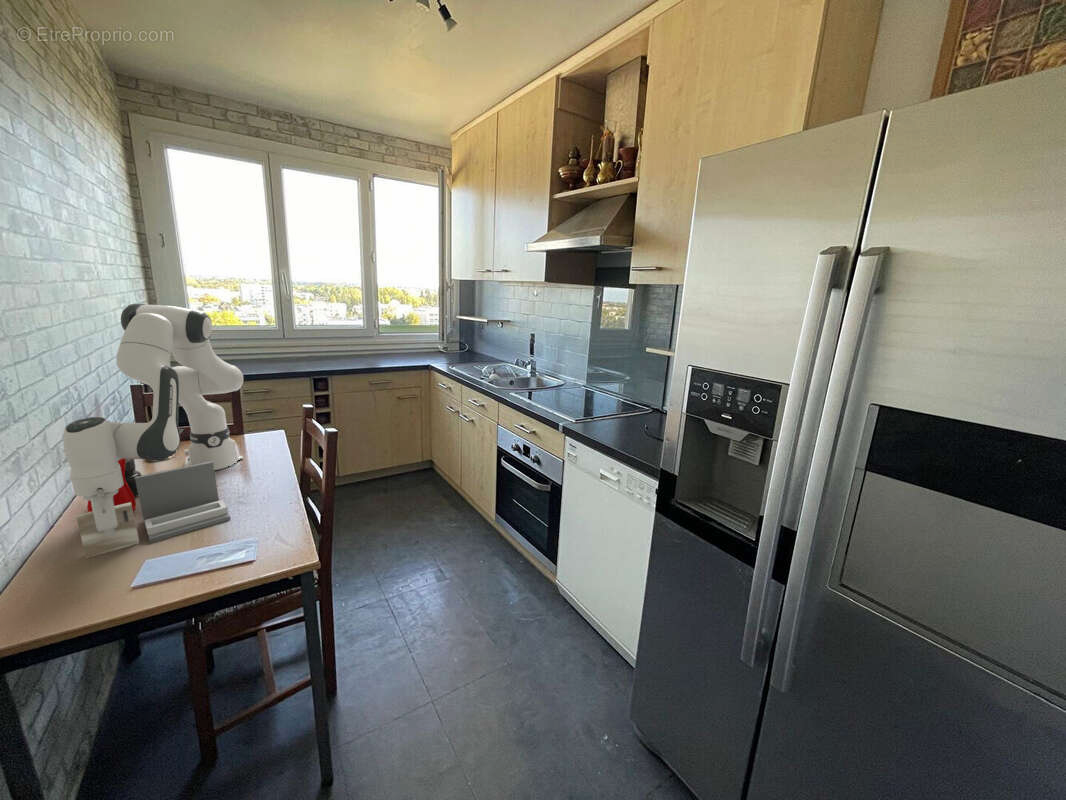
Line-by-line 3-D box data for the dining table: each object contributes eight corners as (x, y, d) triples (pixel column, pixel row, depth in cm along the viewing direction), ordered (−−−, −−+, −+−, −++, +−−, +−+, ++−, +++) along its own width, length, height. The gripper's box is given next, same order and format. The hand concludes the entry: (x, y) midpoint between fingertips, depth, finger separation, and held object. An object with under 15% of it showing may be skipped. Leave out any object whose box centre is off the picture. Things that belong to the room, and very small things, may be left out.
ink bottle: (107, 494, 141) (100, 460, 139) (143, 486, 147) (137, 453, 145) (108, 504, 135) (100, 468, 132) (145, 496, 141) (139, 461, 138)
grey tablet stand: (143, 521, 125) (134, 476, 122) (218, 502, 138) (211, 461, 135) (150, 542, 115) (140, 494, 112) (230, 519, 128) (223, 475, 124)
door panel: (85, 554, 109) (76, 514, 107) (138, 539, 116) (130, 502, 114) (86, 558, 108) (76, 518, 105) (139, 543, 115) (131, 505, 112)
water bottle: (82, 528, 121) (62, 444, 115) (101, 511, 131) (84, 432, 125) (124, 522, 124) (107, 440, 119) (140, 506, 134) (125, 429, 128)
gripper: (119, 492, 103) (130, 544, 106) (113, 468, 117) (123, 514, 120) (81, 500, 99) (94, 554, 102) (80, 474, 112) (91, 522, 116)
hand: (109, 532), depth 111 cm, fingers closed on door panel, 2 cm apart
